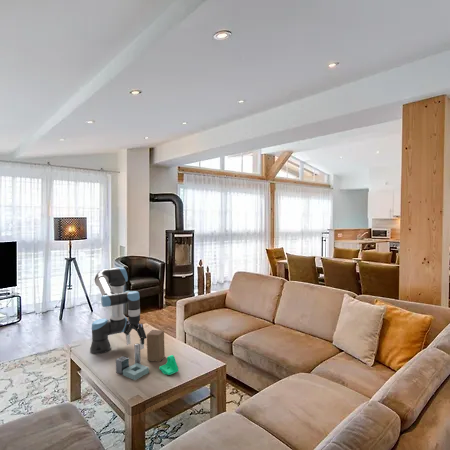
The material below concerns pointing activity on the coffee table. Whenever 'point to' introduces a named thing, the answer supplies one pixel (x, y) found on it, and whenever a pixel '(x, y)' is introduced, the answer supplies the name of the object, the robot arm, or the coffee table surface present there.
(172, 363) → the camera mount
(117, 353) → the coffee table surface
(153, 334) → the wooden block
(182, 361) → the coffee table surface
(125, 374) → the socket plate
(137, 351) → the cylinder
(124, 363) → the square bit
